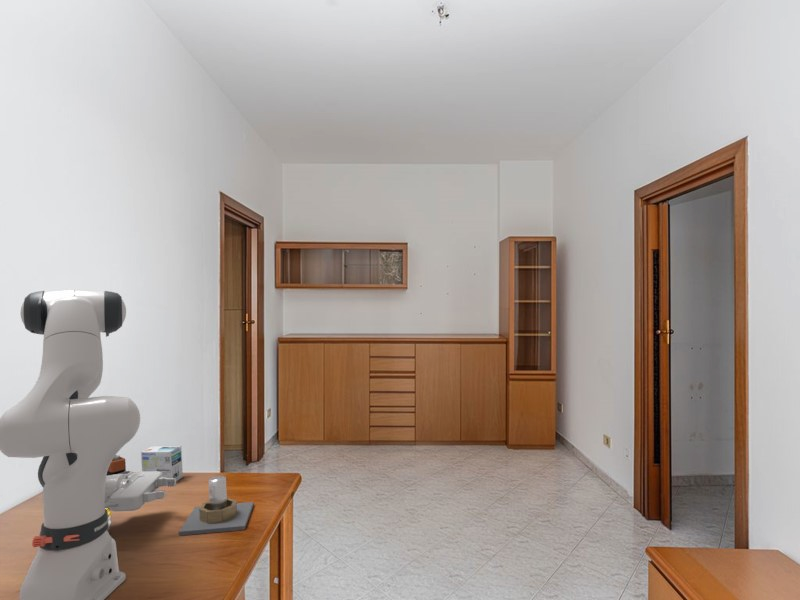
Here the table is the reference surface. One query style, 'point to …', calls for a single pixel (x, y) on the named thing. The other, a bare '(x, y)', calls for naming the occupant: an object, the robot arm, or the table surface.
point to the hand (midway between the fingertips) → (170, 487)
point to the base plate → (234, 524)
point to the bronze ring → (218, 512)
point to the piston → (217, 493)
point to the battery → (117, 465)
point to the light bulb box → (163, 461)
